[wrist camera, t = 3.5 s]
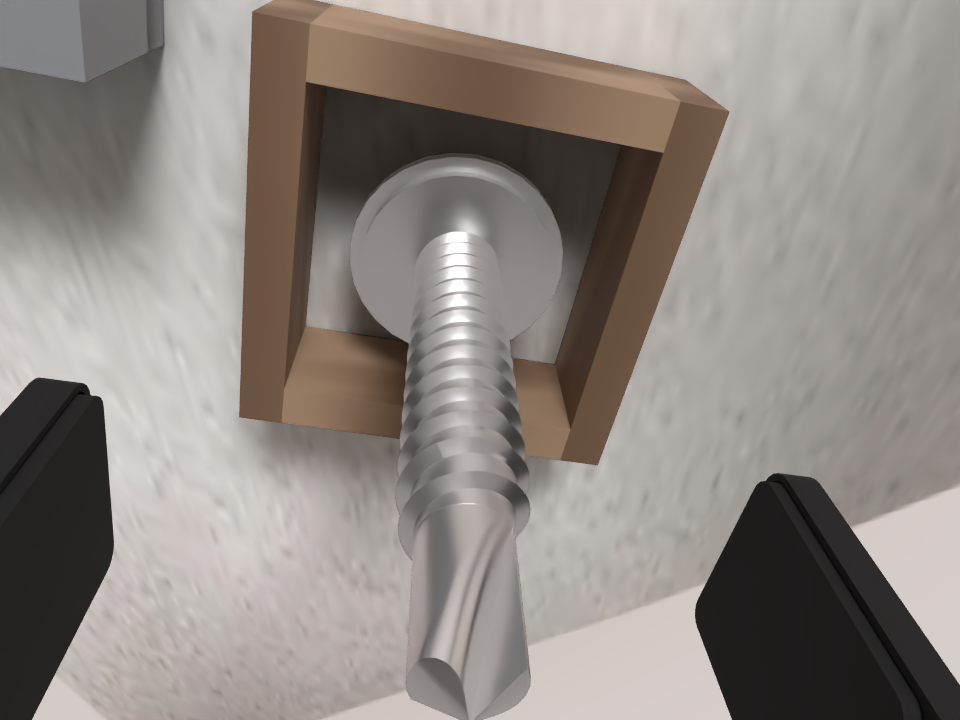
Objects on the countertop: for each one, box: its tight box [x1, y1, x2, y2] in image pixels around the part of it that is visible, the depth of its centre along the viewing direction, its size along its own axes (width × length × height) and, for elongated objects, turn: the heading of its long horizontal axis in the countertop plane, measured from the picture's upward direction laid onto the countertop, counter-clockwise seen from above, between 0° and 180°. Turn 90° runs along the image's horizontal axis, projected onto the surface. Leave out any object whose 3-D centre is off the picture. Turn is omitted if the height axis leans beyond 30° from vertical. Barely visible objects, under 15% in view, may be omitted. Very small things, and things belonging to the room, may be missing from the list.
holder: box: [239, 0, 729, 465], centre depth 17 cm, size 9×9×3 cm
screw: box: [350, 153, 563, 720], centre depth 13 cm, size 13×5×5 cm
